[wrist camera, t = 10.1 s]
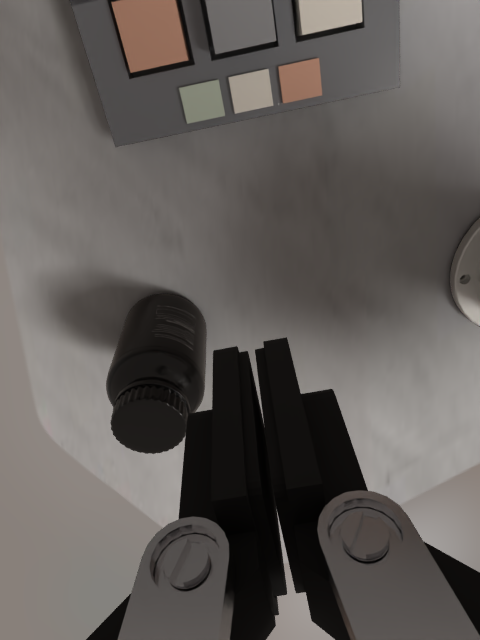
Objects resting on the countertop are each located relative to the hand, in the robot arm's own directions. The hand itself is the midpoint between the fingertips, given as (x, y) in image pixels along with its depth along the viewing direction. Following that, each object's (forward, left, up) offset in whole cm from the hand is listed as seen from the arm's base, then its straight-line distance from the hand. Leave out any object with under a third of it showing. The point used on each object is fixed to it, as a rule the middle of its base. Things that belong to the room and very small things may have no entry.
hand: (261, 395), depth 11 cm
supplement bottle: (+8, +12, -25) cm, 29 cm away
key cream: (-7, -9, -24) cm, 27 cm away
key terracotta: (+3, -9, -24) cm, 26 cm away
